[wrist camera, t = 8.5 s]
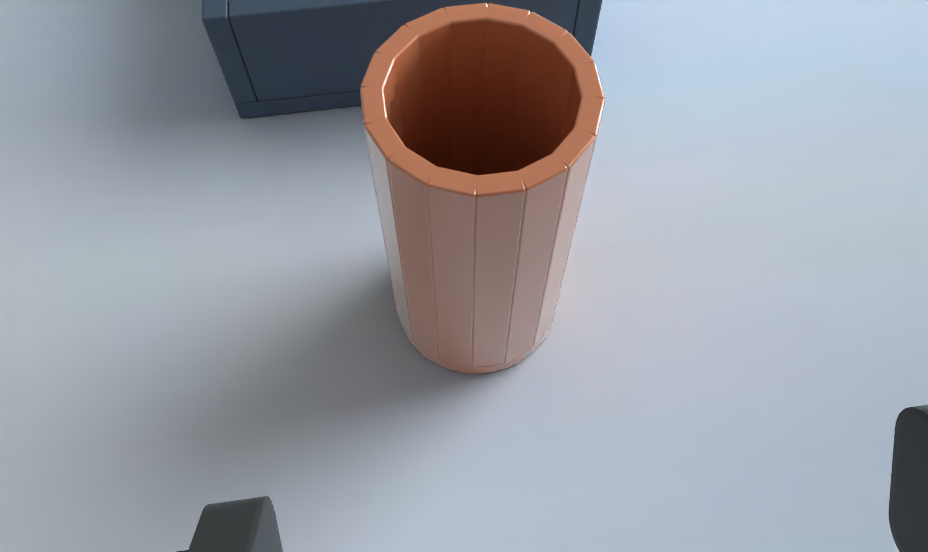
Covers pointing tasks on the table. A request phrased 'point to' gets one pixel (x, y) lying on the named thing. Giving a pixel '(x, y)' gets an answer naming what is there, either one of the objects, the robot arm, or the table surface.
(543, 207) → the cup
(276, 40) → the bin
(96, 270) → the table surface
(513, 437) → the table surface
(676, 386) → the table surface
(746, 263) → the table surface
